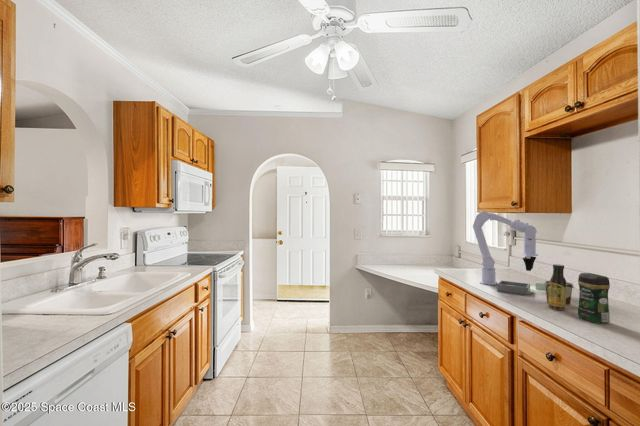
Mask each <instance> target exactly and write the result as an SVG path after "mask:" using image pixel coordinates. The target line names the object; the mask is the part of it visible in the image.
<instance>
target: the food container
mask: <svg viewBox="0 0 640 426" xmlns="http://www.w3.org/2000/svg"><path fill="white" fill-rule="evenodd" d="M549 282H550V280H546V281H545V282H543V283H544V287H546V292H545V294H546V295H545V296H546V303H547V304H548V297H549ZM574 288H575V286H574V285H573V283H572V282H568V281H566V304H565V306H570V305H571V302H572V301H571V300H572V293H573V289H574Z"/></svg>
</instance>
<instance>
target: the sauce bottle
mask: <svg viewBox="0 0 640 426" xmlns="http://www.w3.org/2000/svg"><path fill="white" fill-rule="evenodd" d="M552 268H553V269H552V270H553V271H552V275H551V277H550V279H549V281H550V282H549V297H548V303H547V304H548V308H549V309H552V310H555V311H565V308H566V305H565V304H566V282H567V279H566V278H565V277H564V270H565V265H564V264H559V263H553V265H552Z"/></svg>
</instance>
